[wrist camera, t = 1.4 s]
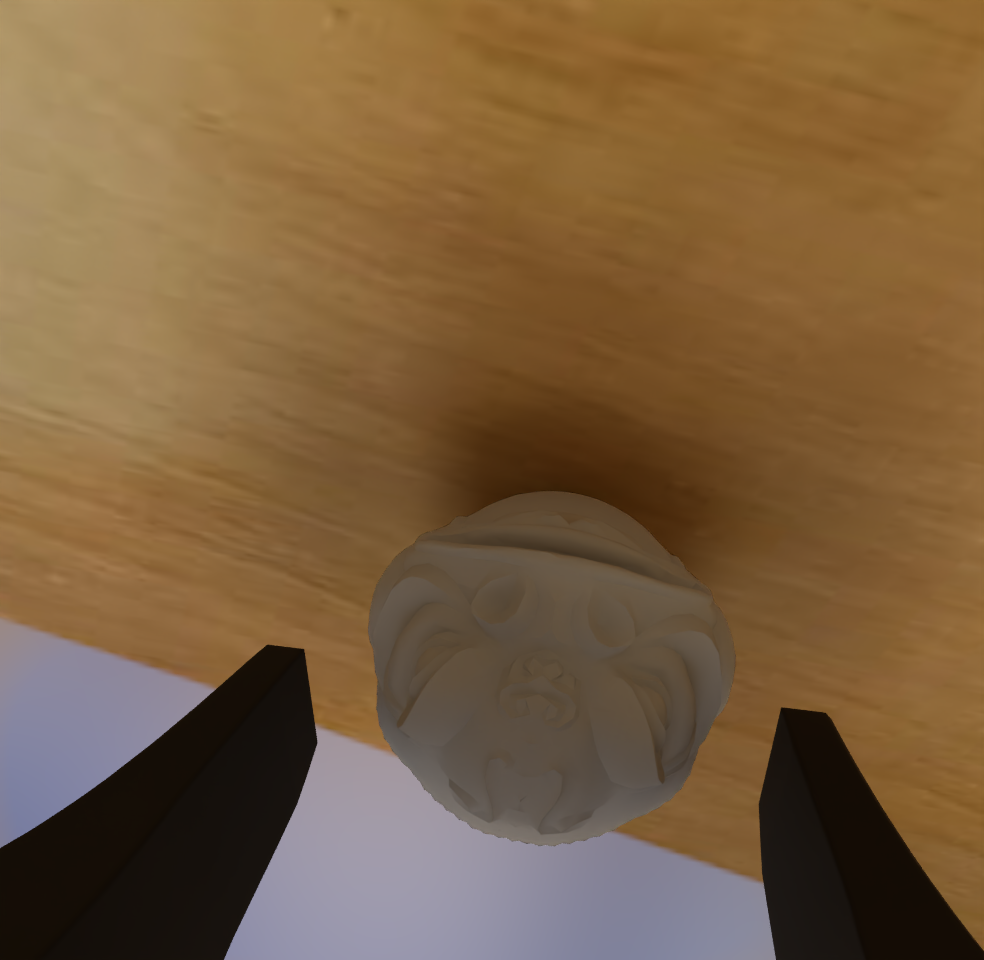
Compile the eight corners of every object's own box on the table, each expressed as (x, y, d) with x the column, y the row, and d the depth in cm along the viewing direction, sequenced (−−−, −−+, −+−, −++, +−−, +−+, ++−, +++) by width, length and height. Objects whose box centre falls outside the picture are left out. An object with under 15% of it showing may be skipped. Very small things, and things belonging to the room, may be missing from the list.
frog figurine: (763, 412, 15) (824, 683, 9) (679, 695, 19) (685, 1022, 13) (432, 356, 16) (292, 579, 10) (411, 641, 20) (299, 930, 14)
